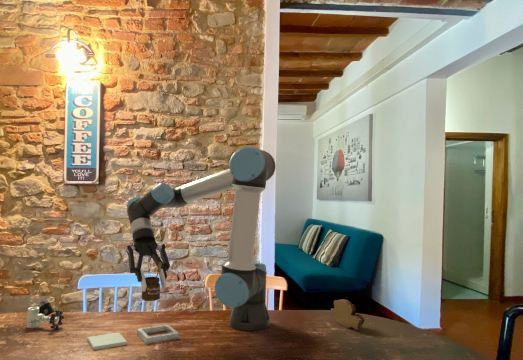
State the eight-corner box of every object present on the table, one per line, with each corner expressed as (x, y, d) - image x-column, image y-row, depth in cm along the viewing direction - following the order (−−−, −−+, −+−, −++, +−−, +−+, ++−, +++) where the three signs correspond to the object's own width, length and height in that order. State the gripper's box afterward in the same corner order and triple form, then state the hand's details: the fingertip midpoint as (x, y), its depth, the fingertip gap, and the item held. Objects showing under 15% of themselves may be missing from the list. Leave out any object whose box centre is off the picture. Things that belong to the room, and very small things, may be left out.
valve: (20, 329, 148) (51, 332, 145) (21, 310, 148) (52, 312, 145) (34, 323, 154) (63, 326, 152) (35, 305, 154) (64, 307, 152)
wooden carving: (368, 332, 153) (368, 304, 154) (359, 334, 151) (359, 305, 151) (335, 320, 167) (336, 294, 167) (327, 322, 164) (327, 295, 165)
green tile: (119, 335, 143) (119, 332, 143) (126, 344, 135) (126, 341, 135) (87, 340, 138) (87, 336, 138) (93, 350, 130) (93, 346, 130)
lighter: (31, 325, 160) (24, 312, 160) (34, 323, 162) (27, 310, 162) (52, 312, 160) (44, 299, 160) (54, 311, 162) (47, 298, 162)
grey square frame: (167, 329, 151) (167, 324, 151) (178, 338, 141) (179, 333, 141) (137, 334, 145) (137, 328, 145) (146, 344, 136) (146, 338, 136)
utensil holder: (138, 298, 143) (139, 262, 143) (154, 295, 148) (155, 261, 148) (147, 302, 139) (149, 265, 139) (163, 299, 143) (165, 263, 144)
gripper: (165, 239, 162) (179, 291, 147) (113, 240, 152) (123, 297, 137) (170, 226, 157) (185, 279, 143) (117, 227, 147) (127, 284, 133)
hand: (154, 288), depth 140 cm, fingers closed on utensil holder, 6 cm apart
